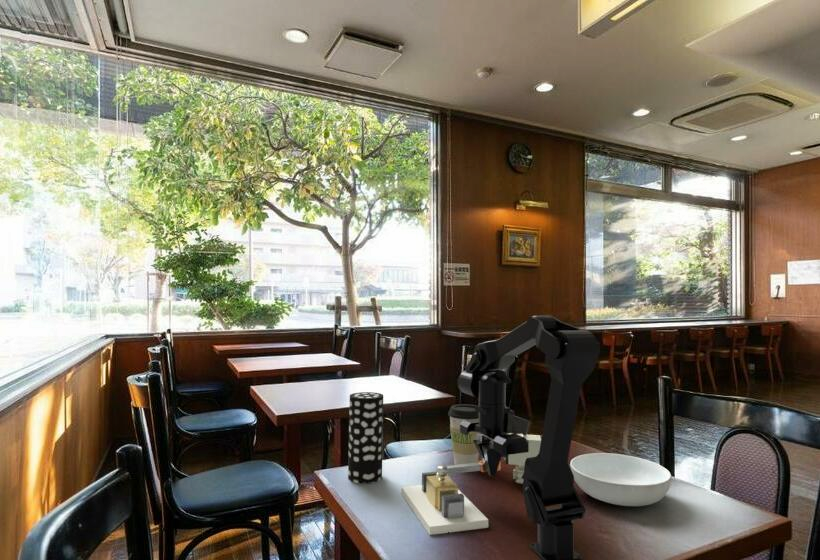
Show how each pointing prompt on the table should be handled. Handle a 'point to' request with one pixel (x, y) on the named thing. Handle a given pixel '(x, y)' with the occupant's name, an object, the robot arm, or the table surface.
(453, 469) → the valve lever
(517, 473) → the pneumatic valve
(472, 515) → the base plate
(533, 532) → the table surface
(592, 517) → the table surface
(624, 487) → the serving bowl
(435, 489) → the valve pipe run
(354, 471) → the spotted tube
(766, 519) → the table surface
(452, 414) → the coffee cup
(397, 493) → the table surface
